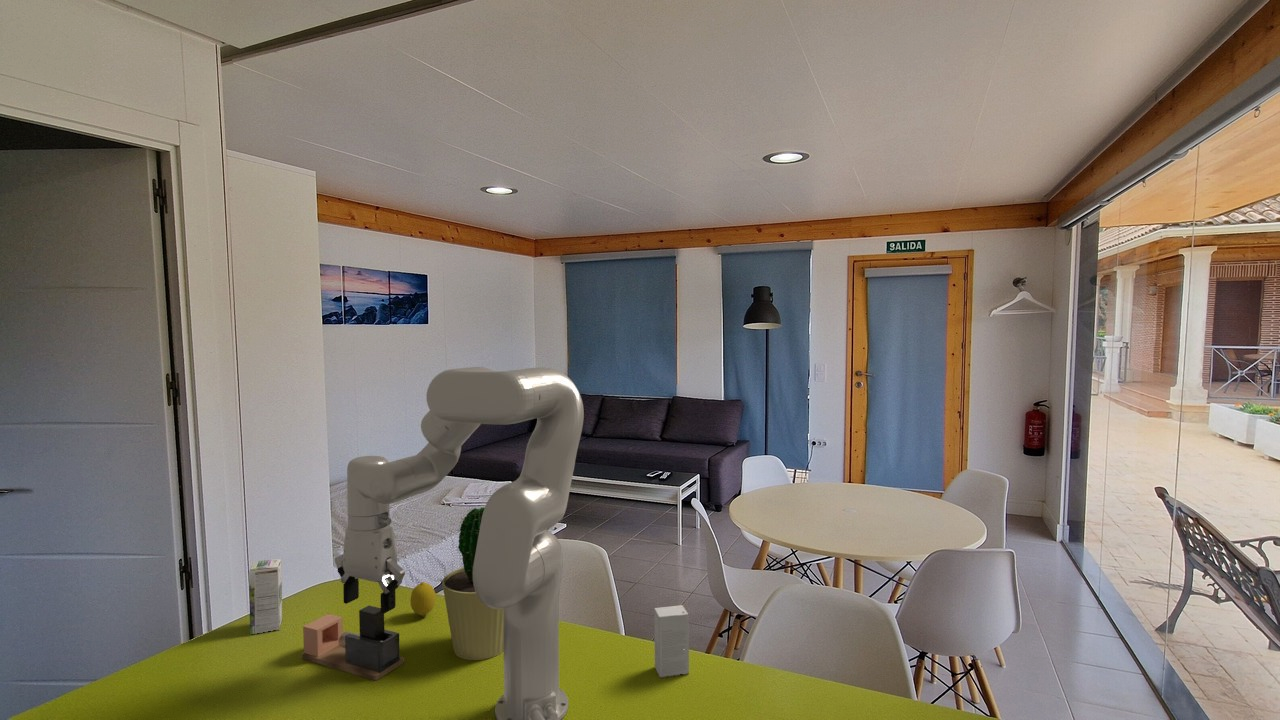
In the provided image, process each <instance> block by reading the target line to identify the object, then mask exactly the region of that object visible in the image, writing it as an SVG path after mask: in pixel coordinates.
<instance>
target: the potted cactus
mask: <svg viewBox="0 0 1280 720" xmlns="http://www.w3.org/2000/svg"><path fill="white" fill-rule="evenodd" d="M485 506H486V505H485ZM485 506H484V505H483V507H482V506H481V507H480V506H478V507H477V508H476V507H474V508H470V507H468V508H469V510H468V512H467V514H466V516H464V517H463V518H461V521H462V522H461V523H460V524H461V525H460V526H459V528H460V529H459V528H458V529H457V530H456V531H457V532H459V533H456V535H458V536H457V537H458V541H457V542H458V545H457V552H456V554H458V553H460V554H461V558H460V560H462V567H460V568H458V569H455V570H453V571H451V572H449V573H448V574H446V575H445V576H444V577H443V578H442V581H441V583H442V591H443V596H444V597H443V598H444V601H445V607H446V613H447V614H446V615H447V619H448V626H449V631H450V637H451V643H452V644H451V645H452V648H453V651H454V652H453V653H454V655H456V656H457V657H459V658H461V659H463V660H466V661H483V660H488V659H491V658H492V659H493V658H494V657H497V656H499V655H501V654H503V653H504V640H503V615H504V609H493V608H490V607H488V606H486V605H485V604H484V603H482V601H481V600H480V599H479V597H478V596H477V594H476V592H475V589H474V584H473V565H474V559H475V553H476V548H477V542H478V536H479V531H480V525H481V520H482V515H483V511H484V508H485Z"/></svg>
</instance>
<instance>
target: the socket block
mask: <svg viewBox="0 0 1280 720" xmlns="http://www.w3.org/2000/svg"><path fill="white" fill-rule="evenodd" d="M343 630H344V629H343V617H342V616H339V615H335V614H332V613H331V614H330V613H328V614H325V615H323V616H320V617H318V618H317V619H316V620H313V621H311V622H308V623H307V624H304V625H303V626H302V632H303V633H302V634H303V653H306V654H310V655H313V656H317V657H319V656H321V655H322V654H324V653H326V652H328V651H329V650H331V649H333V648H335V647H337V646H338V645H339V643H338V642H339V638H340V636H341V635H342V634H343V633H344V632H343Z"/></svg>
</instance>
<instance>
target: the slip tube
mask: <svg viewBox="0 0 1280 720" xmlns="http://www.w3.org/2000/svg"><path fill="white" fill-rule="evenodd" d="M358 612H359V613H358V615H359V616H358V617H359V619H358V620H359V634H358V633H354V632H351V631H349V630H348V631H344V632H343V634H342V635H341V636H340V638H339V642H338V643H339V646H340V647H342V648H345V635H347V634H353V635H357V636H361V637H365V638H368V639H372V640H376V641H380V642H383V641H382V640H383V639H385V631H384V629H385V614H383V613H381V607H378V606H375V605H374V606H373V605H366V606H365V607H363V608H361V609H359V610H358Z"/></svg>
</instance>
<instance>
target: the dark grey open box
mask: <svg viewBox="0 0 1280 720" xmlns="http://www.w3.org/2000/svg"><path fill="white" fill-rule="evenodd" d="M384 631H385V639H383V640H382V641H383V642H380V641H376V640H372V639H368V638H365V637H361V636H357V635H353V634H347V635H345V656H346V663H347V664H351V665H354V666H358V667H361V668H365V669H368V670H372V671H375V672H378V673H381V672H382V671H384V670H386V669H387V668H389V667H390V666H392V665H393V664H395V663H396V662H398V661H399V660H400V657H401V655H400V654H401V651H400V633H399V632H396V631H392V630H388V629H386V628H384Z"/></svg>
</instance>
